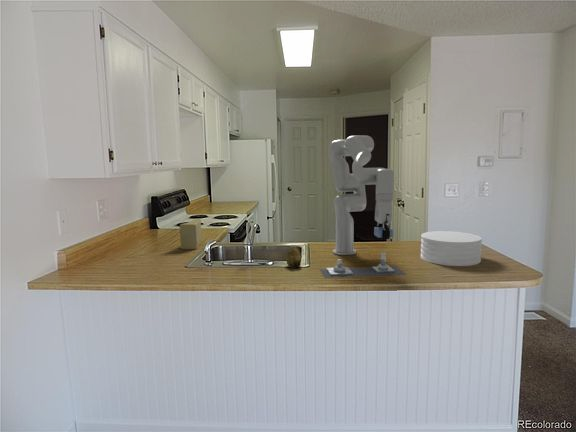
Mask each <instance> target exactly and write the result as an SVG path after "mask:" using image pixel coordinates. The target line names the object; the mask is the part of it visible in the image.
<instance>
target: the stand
mask: <svg viewBox="0 0 576 432" xmlns="http://www.w3.org/2000/svg"><path fill="white" fill-rule="evenodd" d="M386 255H387V254H386V252H381V253H380V263H379V264H378V265H377V266H371V267H372V269H373V270H374V271H375V272H376V273H395V270H393V269H392V268H391V267H392V266H390V265H389V264H387V262H386V260H387V258H386V257H387V256H386Z"/></svg>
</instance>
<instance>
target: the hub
mask: <svg viewBox="0 0 576 432" xmlns="http://www.w3.org/2000/svg"><path fill="white" fill-rule="evenodd" d="M336 263H337V264H336V265H334V266H333V267H326V270H327V271H328V273H329V274H330V276H343V275H353V272H352V271H351V270H350V269H349V268H350V267H349V266H345V265H343V259H342V258H338V259H337V260H336Z"/></svg>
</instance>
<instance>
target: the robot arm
mask: <svg viewBox="0 0 576 432" xmlns="http://www.w3.org/2000/svg"><path fill="white" fill-rule="evenodd" d="M374 148H375V142H374V139H373V138H372V136H369V135H350V136H348V137H347V138H346V139H337V140H336V139H335V140H333V141H331V142H330V144H329V147H328V158H329V161H330V163H331V166H332V172H333V173H332V174H333V182H334V188H335V190H336V191H337V192H341V194H338V195H336V196H335V197H334V198H333V206H334V207H333V208H334V213H335V214H334V215H335V248H334V249H332V253H333V254H334V255H339V256H352V255H355V254H357V249H356V248H355V249H354V235H355V234H354V233H355V232H354V231H355V230H354V229H355V228H354V226H355V225H354V224H355V222H354V218H353V216H352V215H351V212H362V211H364V210H365V209H366V207H367V194H366V193H367V192H366V186H367V185H368V186H369V185H370V186H371V185H375V210H374V221H375V222H376V223H377V224H376V227H383V230H382V238H381V239H382V240H389V239H390V238H391V237H390V228H391V225H392V221H393V205H392V202H393V201H394V186H395V171H394V170H393V169H392V168H385V167H363V166H365V165H366V164H368V163H369V162H370V161H371V159H372V153H371V152H372V151H373V150H374ZM344 157H351V158H352V160H353V162H352V165H351V167H352V168H351V170H352V173H350V167H349V165H350V164H349V163H348V162H347V161H346V159H345V158H344ZM342 192H343V194H342ZM344 192H347V193H344ZM348 192H353V193H348Z"/></svg>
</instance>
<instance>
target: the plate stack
mask: <svg viewBox="0 0 576 432" xmlns="http://www.w3.org/2000/svg"><path fill="white" fill-rule="evenodd" d="M420 238H421V239H420V243H421V244H420V259H422V260H424V261H426V262H427V263H428V262H429V263H432V264H436V265H442V266H449V267H450V266H451V267H452V266H453V267H469V266H475V265H479V264H480V263H481V262H482V258H481V257H482V245H483V243H482V241H483V237H481V235H477V234H475V233H469V232H464V231H451V230H450V231H449V230H447V231H446V230H437V231H436V230H433V231H426V232H423V233H421V236H420Z"/></svg>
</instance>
